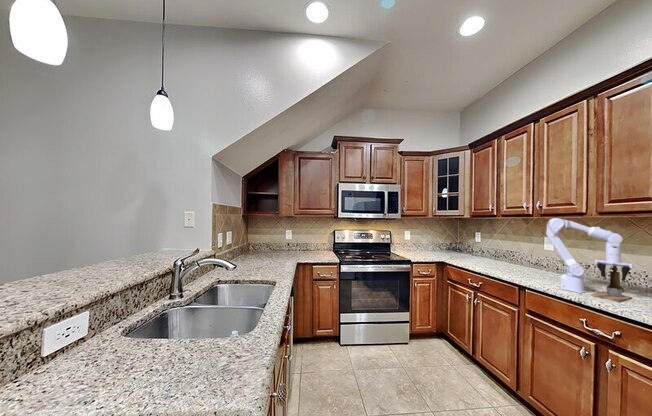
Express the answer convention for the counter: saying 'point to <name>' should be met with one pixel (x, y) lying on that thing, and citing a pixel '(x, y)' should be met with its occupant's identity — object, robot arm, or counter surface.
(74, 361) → the counter surface
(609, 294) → the hub ring
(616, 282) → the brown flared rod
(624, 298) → the post board
